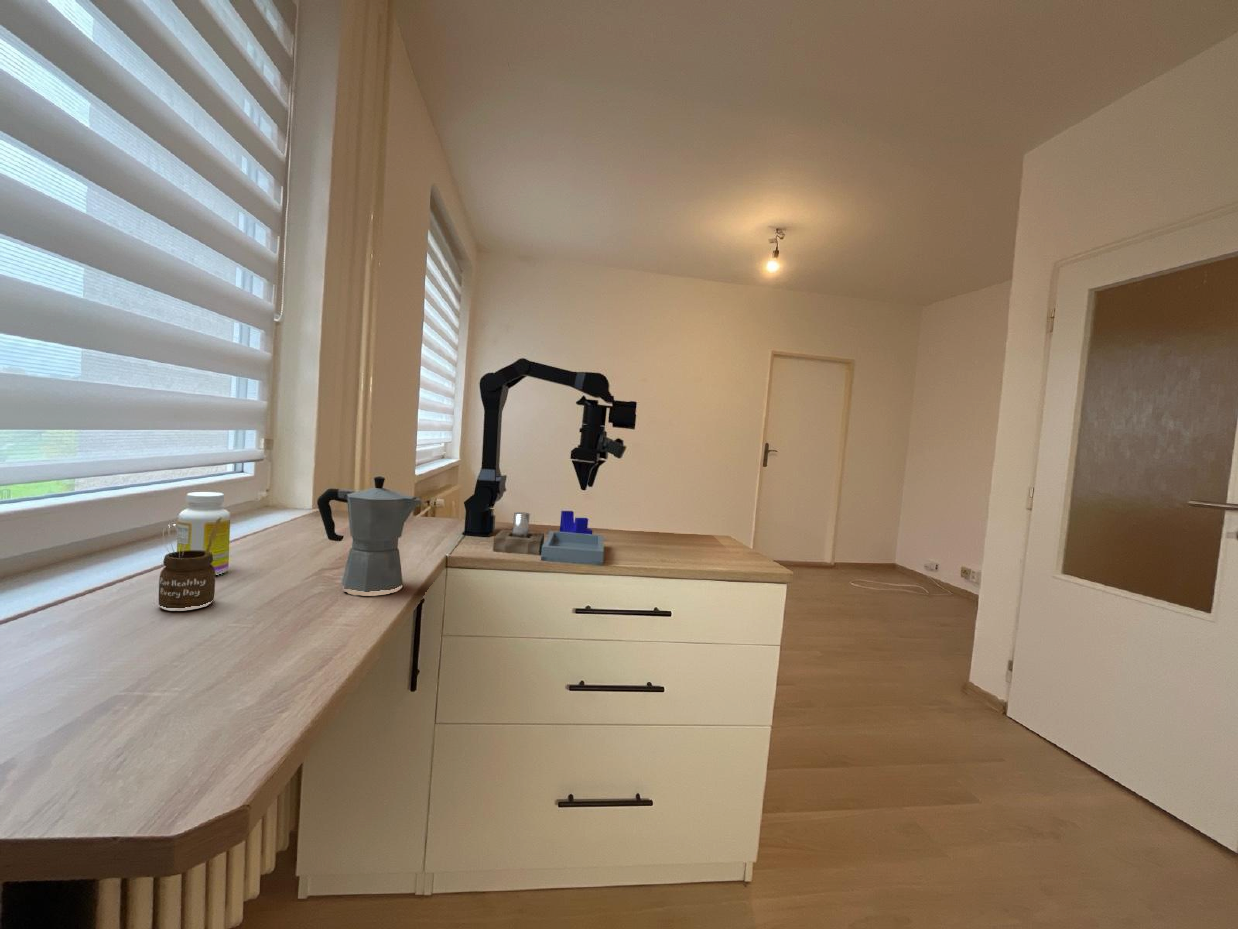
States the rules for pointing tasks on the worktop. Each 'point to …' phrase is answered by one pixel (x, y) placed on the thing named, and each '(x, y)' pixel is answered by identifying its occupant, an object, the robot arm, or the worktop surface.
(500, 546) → the socket block
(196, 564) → the utensil holder
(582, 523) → the cable clip
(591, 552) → the tray
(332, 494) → the coffeepot
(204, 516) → the supplement bottle
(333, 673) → the worktop surface
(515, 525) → the silver metal cylinder
